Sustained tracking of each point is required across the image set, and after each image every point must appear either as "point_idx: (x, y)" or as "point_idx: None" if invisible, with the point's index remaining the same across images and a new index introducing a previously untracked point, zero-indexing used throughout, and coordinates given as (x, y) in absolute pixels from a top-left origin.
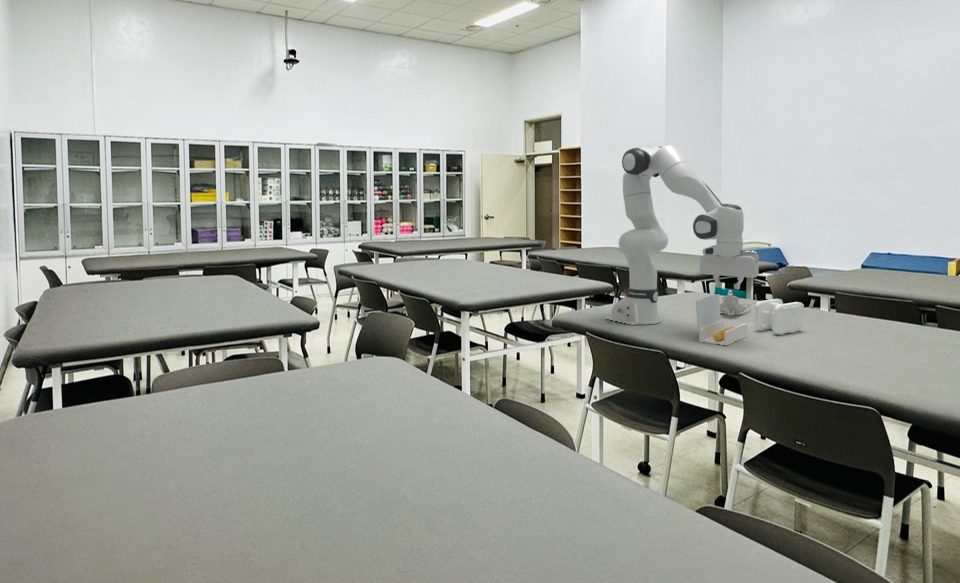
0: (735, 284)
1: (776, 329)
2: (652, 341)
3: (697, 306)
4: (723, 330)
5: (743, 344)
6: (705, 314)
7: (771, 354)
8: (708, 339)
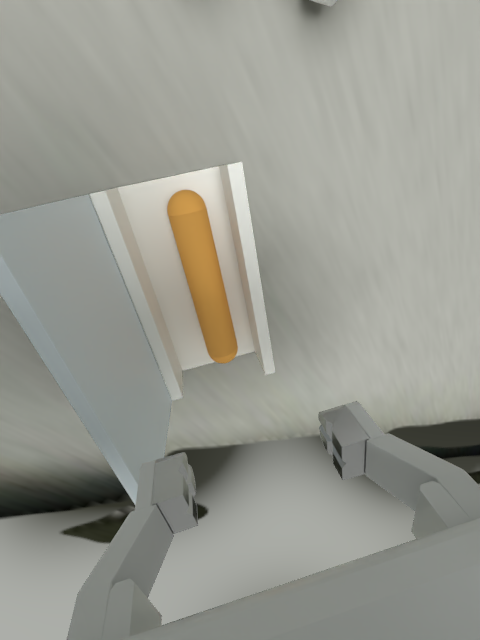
0: (356, 475)
1: (334, 2)
2: (84, 458)
3: None
4: (215, 314)
5: (286, 287)
6: (143, 387)
7: (392, 324)
8: (188, 348)
